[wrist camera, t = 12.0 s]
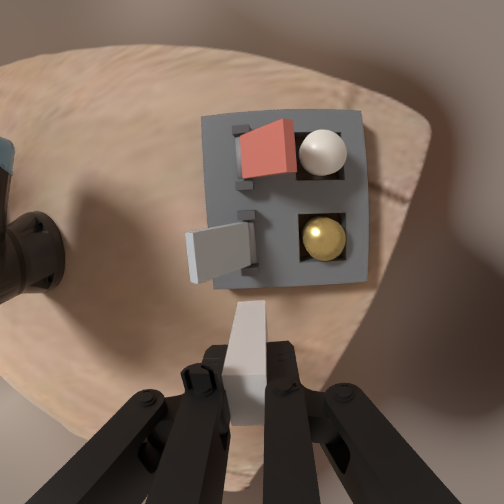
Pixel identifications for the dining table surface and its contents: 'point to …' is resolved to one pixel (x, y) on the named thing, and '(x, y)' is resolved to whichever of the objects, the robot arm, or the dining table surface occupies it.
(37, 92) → the dining table surface
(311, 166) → the button white
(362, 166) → the panel
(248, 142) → the paddle red
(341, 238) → the button brass
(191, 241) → the paddle grey
